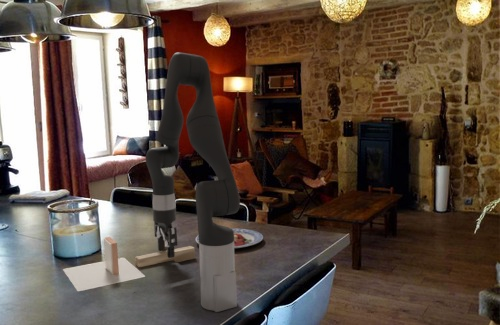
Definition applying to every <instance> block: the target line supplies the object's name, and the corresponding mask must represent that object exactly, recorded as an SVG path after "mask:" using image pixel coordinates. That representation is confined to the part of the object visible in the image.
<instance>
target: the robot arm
mask: <svg viewBox="0 0 500 325" xmlns="http://www.w3.org/2000/svg"><path fill="white" fill-rule="evenodd" d="M180 85H182V86H189V87H194V89H195V92H196V97H195V98H196V99H195V100H194V103H193V104H192V107H191V108H190V110H189V112H188V114H187V117H186V121H185V122H186V124H185V125H186V131H187V135H188V139H189V140H188V141H189V143H190V145H191V147H192V148H193V149H194V151H195V152H196V153H197V154H198V155H199V156H200V157H202V159H204V161H206V162H207V164H208V165H210V167H211V168H212V170H213V171H214V174H215V176H216V177H217V179H216V180H204V181H200V182H198V183H197V184H196V187H195V207H196V216H197V232H198V235H199V244H198V254H199V255H198V256H199V280H200V282H199V284H200V285H199V286H200V304H201V307H202V308H203V309H205V310H208V311H213V312H215V313H219V312H222V311H226V310H230V309H232V308H236V307H238V302H237V300H238V299H237V272H236V269H235V264H236V263H235V249H234V232H233V230H232V229H231V227H228V226H224V225H220V224H217V223H215V222H213V217H219V216H230V215H234V214H236V213H238V211H239V210H240V207H241V206H240V205H241V200H240V192H239V188H238V186H237V182H236V178H235V176H234V173H233V170H232V167H231V164H230V161H229V159H228V154H227V150H226V146H225V141H224V136H223V132H222V128H221V124H220V119H219V116H218V112H217V109H216V103H215V99H214V94H213V88H212V81H211V73H210V68H209V64H208V61H207V58H205V57H203V56H201V55H197V54H191V53H185V52H175V53H174V54H173V55H172V57H171V58H170V60H169V64H168V68H167V76H166V83H165V91H164V102H163V109H162V114H161V120H160V123H159V127H158V130H157V134H156V139H157V142H159V143H160V144H161V145H163V146H159V147H152V148H149V149H148V150H147V152H146V154H145V164H146V167H147V169H148V172H149V175H150V180H151V183H152V220H153V222H154V225H153V226H154V237H155V238H156V240H157V250H158V252H162V251H167V255H168V258H172V257H174V256H175V253H174V249H175V247H176V246H178V235H177V227H173V224H172V223H173V222H175V221H176V220H177V208H176V207H177V206H176V204H177V202H176V196H175V181H174V177H173V176H172V175H170V174H164V173H163V171H162V170H163V169H168V168H173V167H175V166H176V165H177V164H178V162H179V157H180V155H179V154H180V153H179V152H180V151H179V150H180V148H179V142H180V137H181V133H182V130H183V126H184V115H183V111H182V109H181V105H180V102H179V98H178V90H179V86H180ZM165 242H166V244H167V247H165ZM166 249H167V250H166Z"/></svg>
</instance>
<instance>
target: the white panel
mask: <svg viewBox="0 0 500 325" xmlns="http://www.w3.org/2000/svg"><path fill="white" fill-rule="evenodd" d="M118 267H119V274H117V275H112V274H111V273H110V272H109V271H108V270H107V269H106V267H105V260H104V261H99V262H93V263H88V264H82V265H77V266H72V267H71V266H70V267H66V268H62V271H63V272H64V274H65V275H66V276H67V278H68V280H69V281H70V282H71V284H72V285H73V287H74V288H75V290H76V291H77V292H84V291H86V290H93V289H96V288H101V287H105V286H109V285H115V284H118V283H125V282H128V281H134V280H138V279H143V278H146V275H145V274H144V273H143V272H142V271H141V270H139V269H138V268H137V267H136V266H135V265H134V264H132V263H131V262H130V261H128V259H126V258H125V256H124V257H120V258H119V257H118Z"/></svg>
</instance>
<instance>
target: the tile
mask: <svg viewBox="0 0 500 325" xmlns="http://www.w3.org/2000/svg"><path fill="white" fill-rule="evenodd" d="M103 248H104V261H105V267H106V269H107V270H108V271H109V272H110V273H111V274H112V275H117V274H119V267H118V258H119V255H118V254H119V253H118V250H119V249H118V242H117V241H116V240H114V239H113V238H112V237H111V236H106V237H104V238H103Z"/></svg>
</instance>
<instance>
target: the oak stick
mask: <svg viewBox="0 0 500 325" xmlns="http://www.w3.org/2000/svg"><path fill="white" fill-rule="evenodd" d="M195 250H196V249H195V247H194V246H192V245H189V246H183V247H178V248H174V253H175V256H174V257H172V258H168V255H167V250H164V251H158V252H152V253H147V254H143V255H138V256H135V257H134V259H135V265H136V266H137V267H138V268H142V267H148V266H151V265H156V264H161V263H165V262H166V263H167V262H171V261H173V262H176V263H181V262H184V261H188V260H193V259H196V251H195Z"/></svg>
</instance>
